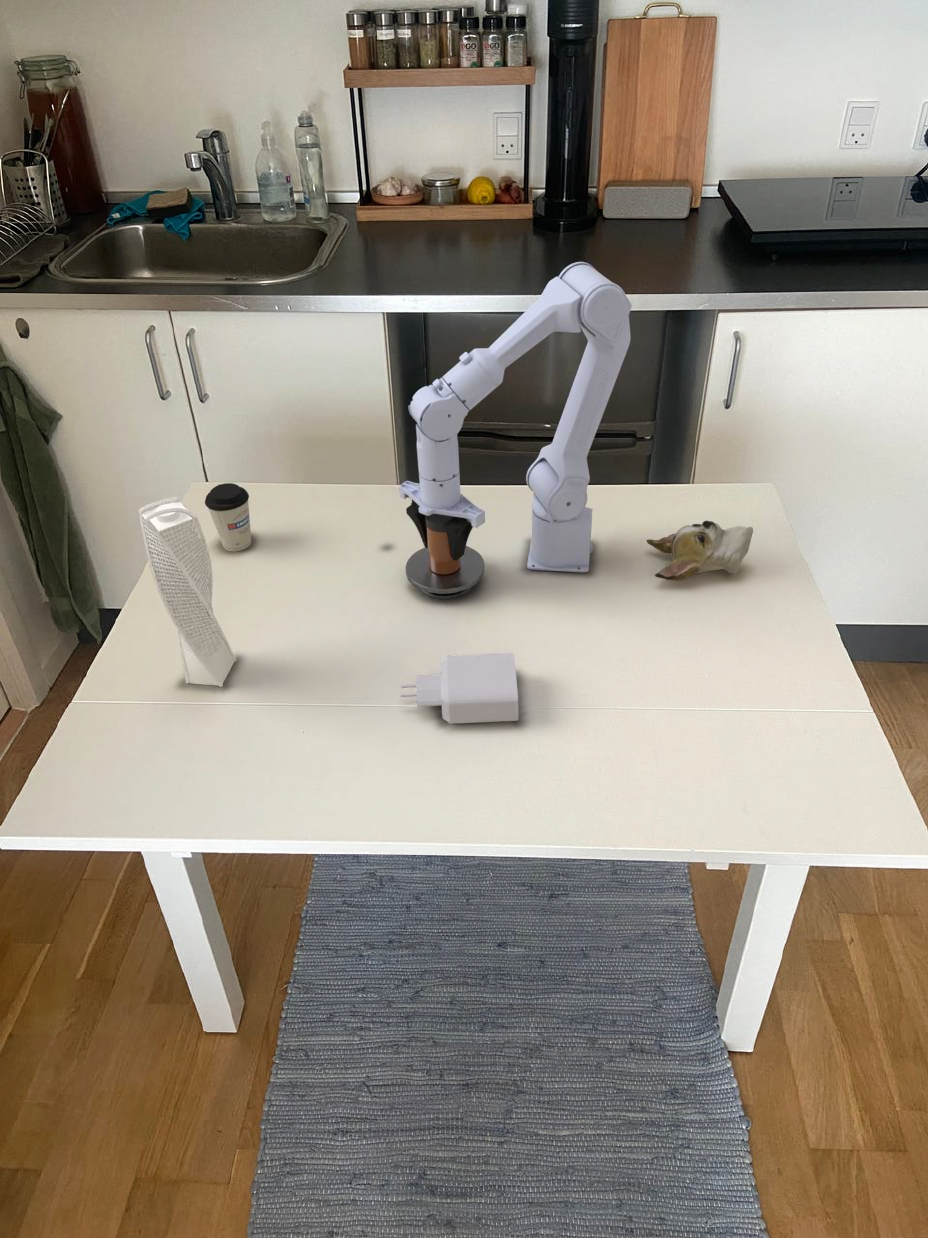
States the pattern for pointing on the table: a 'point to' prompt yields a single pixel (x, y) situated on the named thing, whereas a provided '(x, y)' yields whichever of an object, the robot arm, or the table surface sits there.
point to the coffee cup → (230, 515)
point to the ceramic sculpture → (703, 549)
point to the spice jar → (439, 545)
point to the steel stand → (445, 575)
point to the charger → (471, 688)
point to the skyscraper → (186, 589)
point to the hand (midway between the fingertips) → (444, 550)
